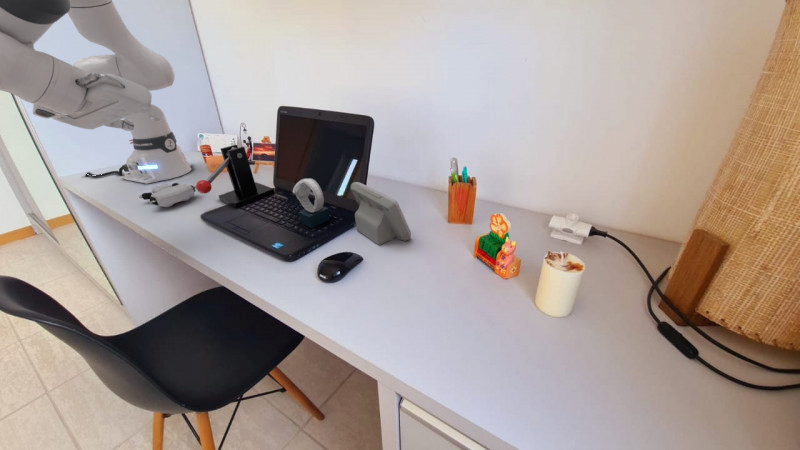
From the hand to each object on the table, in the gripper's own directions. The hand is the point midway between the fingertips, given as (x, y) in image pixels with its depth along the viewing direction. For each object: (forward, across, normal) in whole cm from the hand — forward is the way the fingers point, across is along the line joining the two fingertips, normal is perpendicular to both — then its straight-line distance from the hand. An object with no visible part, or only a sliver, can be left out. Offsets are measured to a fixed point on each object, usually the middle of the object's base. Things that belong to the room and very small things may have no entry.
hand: (145, 122), depth 71 cm
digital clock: (+27, -43, +25) cm, 56 cm away
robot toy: (+22, +23, +9) cm, 33 cm away
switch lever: (+21, +2, +5) cm, 22 cm away
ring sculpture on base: (+26, -26, +21) cm, 42 cm away
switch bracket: (+30, +2, +9) cm, 31 cm away
